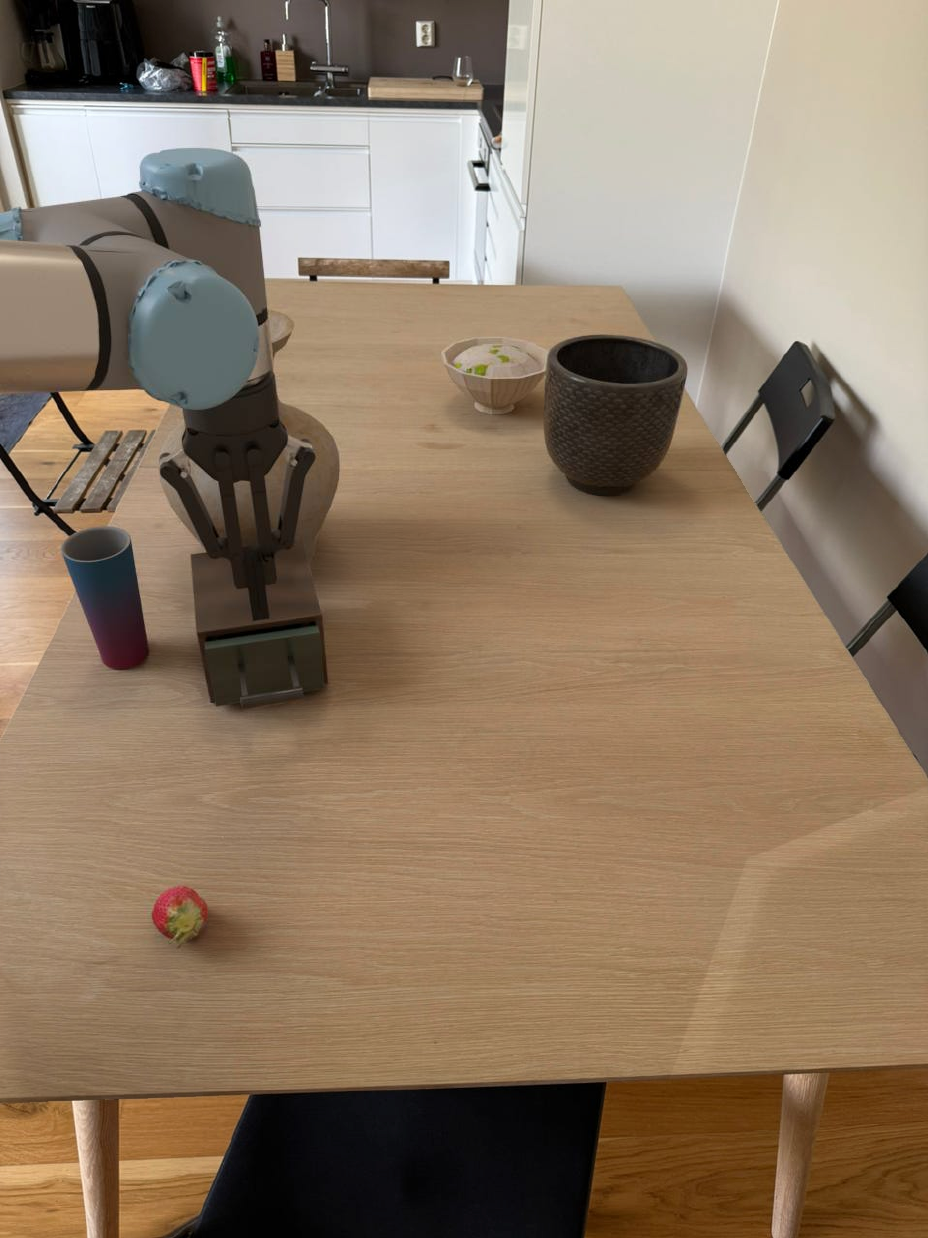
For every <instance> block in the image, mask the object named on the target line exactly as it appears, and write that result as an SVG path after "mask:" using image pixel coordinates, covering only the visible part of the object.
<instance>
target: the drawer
mask: <svg viewBox="0 0 928 1238" xmlns="http://www.w3.org/2000/svg"><path fill="white" fill-rule="evenodd" d="M204 644H205V652H206V657H207V662H208V667H209V673H210V678H211V683H212V688H213V693H214V698H215V702H214V704H215V707H220V706H225V705H226V706H228V705H234V704H239V703H240V706H241V710H242V711H246V710H247V711H248V710H253V709H259V708H265V707H266V708H267V707H272V706H278V705H283V704H289V703H296V702H301V701H304V700H305V696H304V693H306V692H312V691H318V690H324V689H325V688H326V687H325V684H324V675H323V664H322V653H321V642H320V632H319V628H318V626H310V622H307V623H301V624H294V625H287V626H280V627H273V628H267V629H260V630H253V631H246V632H239V633H233V634H226V635H219V636H212V641H209V642H205V643H204Z"/></svg>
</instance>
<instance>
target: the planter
mask: <svg viewBox="0 0 928 1238" xmlns="http://www.w3.org/2000/svg"><path fill="white" fill-rule="evenodd" d="M548 352H549V353H548V357H547V364H546V375H545V377H544V378H545V379H544V393H543V394H544V395H543V398H544V399H543V438H544V443H545V446H546V450H547V453H548V455H549V457H550V459H551V461H552V464H554V465H555V467H556V468H557V469H558V470H559V471H560V472H561V473H562V474H564V477H565V478H566V480H567V482H568V483H569V484H570V485H571V486H572V487H574V488H575V489H577V490H579V491H581V492H583V493H586V494H590V495H595V496H604V497H610V496H611V497H612V496H619V495H622V494H623V495H624V494H626V493H628V492H630V491H631V490H633V489H634V488H635V487H636V486H637V485H638V483H640V482H643V481H644V480H646V479H647V478H648V477H650V476H651V475H653V473H654V472H655V471H657V470H658V468H659V467H660V466H661V464H662V463H663V461H664V460H665V458H666V456H667V454H668V452H669V449H670V448H671V444H672V442H673V438H674V433H675V429H676V425H677V422H678V417H679V414H680V413H679V412H680V411H681V406H682V401H683V396H684V391H685V386H686V382H687V377H688V363H687V361H686V360H685V358H684V356H682V355H681V354H680V353H679V352H677V351H676V350H674V349H672V348H670V347H669V346H666V345H664V344H662V343H660V342H656V341H653V340H649V339H645V338H642V337H636V336H631V335H623V334H622V335H621V334H605V333H603V334H601V333H600V334H589V335H587V334H586V335H579V336H575V337H571V338H567V339H564V340H562V341H559V342H558V343H556V344H555V345H553V346H552V347H551V348H550V350H549V351H548Z"/></svg>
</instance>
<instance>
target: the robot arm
mask: <svg viewBox="0 0 928 1238" xmlns="http://www.w3.org/2000/svg"><path fill="white" fill-rule="evenodd" d="M252 176H253V175H252V172H251V169H250V166H249V165H248V163H247V161H245V160H244V159H243V158H242V157H241V156H239V154H235V153H233V152H231V151H227V150H224V149H217V148H207V147H180V148H179V147H178V148H169V149H163V150H160V151H159V152H151V153H149V154H146V155H145V156H144V157H143V158H142V159H141V161H140V164H139V179H140V180H139V181H138V184H139V189H141V190H139V191H134V192H129V193H128V194H127V193H126V194H125V195H119V196H112V197H105V198H96V199H89V200H83V201H75V202H67V203H59V204H53V205H52V204H51V205H46V206H45V205H44V206H36V207H29V208H22V207H21V206H16V207H14V208H12V210H8V211H4V212H0V396H1V395H2V396H3V395H23V394H24V395H25V394H45V393H46V394H47V393H63V392H64V393H68V392H69V393H70V392H71V393H72V392H93V391H94V392H96V391H133V390H135V391H136V390H141V391H144V392H145V394H147V395H148V396H149V397H151V398H152V399H154V400H156V401H159V402H164V403H167V404H170V405H172V406H175V407H177V408H180V409H181V410H182V414H183V415H182V416H183V421H184V422H185V431H184V433H183V436H182V446H180V447H179V448H178V449H176V450H175V451H174V452H172V453H171V454H170V453H163V454H161V455H160V458H159V457H158V464H159V463H160V475H161V476H162V478H163V479H165V480H166V481H167V482H168V483H169V484H170V485H171V486H172V487H173V488H174V489H175V490H176V491H177V493H178V495H179V497H180V499H181V501H182V503H183V505H184V507H185V509H186V511H187V513H188V515H189V517H190V519H191V521H192V523H193V525H194V527H195V529H196V531H197V533H198V535H199V538H200V540H201V542H202V544H203V546H204V548H205V550H206V552H207V554H208V556H209V557H210V558H212V559H218V558H220V557H222V558H226V559H228V560H229V561H230V562H231V567H232V573H233V580H234V585H235V587H236V588H237V589H243V588H248V592H249V599H250V605H251V612H252V618H253V621H256V620H263V619H270V618H269V610H268V603H267V595H266V588H265V585H271V584H276V581H277V575H276V566H275V554H276V553H277V552H278V551H279V550H282V549H284V550H289V549H291V548H292V547H293V544H294V539H295V533H296V527H297V521H298V515H299V510H300V504H301V498H302V492H303V486H304V481H305V476H306V474H307V473H308V471H309V469H310V468H311V466H312V464H313V463H314V461H315V459H316V457H315V453H314V450H313V447H312V444H311V442H310V440H308V439H301V440H298V439H295V438H293V437H291V436H289V435H288V434H287V431H286V428H285V426H284V425H283V424H282V422H281V420H280V417H279V407H278V398H279V397H278V398H277V395H278V391H277V381H276V380H277V379H276V375H275V372H274V370H273V371H272V370H270V369H271V368H272V367H273V368H274V364H275V362H274V361H275V359H274V360H273V351H272V342H271V332H270V323H269V314H268V311H267V309H268V303H267V302H268V300H267V291H266V290H267V289H266V281H265V279H266V278H265V269H264V268H265V267H264V260H263V250H262V249H263V248H262V240H261V239H262V237H261V230H260V229H261V227H262V221H261V218H260V214H259V209H258V208H259V207H258V202H257V197H256V190H255V187H254V182H253V177H252ZM283 450H285V458H286V461H287V463H288V464H287V469H286V475H285V482H284V488H283V494H282V500H281V507H280V513H279V519H278V526H277V530H276V531H273V532H271V525H270V518H269V510H268V502H267V494H266V485H265V477H264V476H265V475H267V474H268V473H269V471H270V470H271V468H272V467H273V465H274V464H275V462H276V460H277V459H278V457H279V456H280V454H281V453H282V451H283ZM190 459H191V460H192V461H193V462H195V463H196V464H197V465H198V466H199V467H200V468H201V469H202V470H203V471H204V472H206V473H207V474H208V475H209V476H210V477H211V478H212V479H214V480H216V481H218V484H219V490H220V497H221V503H222V509H223V516H224V522H225V529H226V535H227V538H222V537H220V536H219V534H218V532H217V530H216V528H215V526H214V523H213V521H212V519H211V517H210V515H209V513H208V511H207V509H206V507H205V504H204V502H203V500H202V498H201V496H200V494H199V492H198V490H197V487H196V485H195V483H194V481H193V479H192V477H191V475H190V474H191V465H190V463H189V460H190ZM239 481H249V482H250V489H251V496H252V503H253V510H254V517H255V524H256V531H257V538H258V545H255V546H251V548H250V546H247V547H242V540H241V533H240V526H239V519H238V512H237V505H236V498H235V490H234V483H236V482H239ZM204 548H203V549H204ZM205 550H204V551H205ZM251 553H252V554H251ZM260 614H261V615H260Z"/></svg>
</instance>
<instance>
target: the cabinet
mask: <svg viewBox="0 0 928 1238" xmlns="http://www.w3.org/2000/svg"><path fill="white" fill-rule="evenodd" d="M250 548H251V547H250ZM251 554H252V553H251ZM275 566H276V575H277V581H276V584H271V585H265V588H266V595H267V603H268V610H269V618H270V619H263V620H256V621H253V618H252V612H251V605H250V599H249V592H248V588H243V589H237V588H236V587H235V585H234V580H233V573H232V567H231V562H230V561H229V560H228V559H226V558H222V557H220V558H218V559H212V558H210V557H209V556H208V554H207V552H205V551H204V552H199V553H191V554H190V567H191V580H192V592H193V593H192V594H193V605H194V617H195V631H196V637H197V642H198V647H199V652H200V657H201V662H202V667H203V672H204V677H205V682H206V687H207V692H208V697H209V702H210V703H215V698H214V693H213V688H212V683H211V678H210V673H209V667H208V662H207V657H206V652H205V644H204V643H205V642H209V641H212V636H219V635H226V634H233V633H239V632H246V631H253V630H260V629H267V628H273V627H280V626H287V625H294V624H301V623H307V622H310V626H318V628H319V632H320V642H321V653H322V664H323V675H324V685H328V684H329V675H328V665H327V654H326V642H325V628H324V620H323V619H324V618H323V617H324V616H323V612H322V608H321V604H320V600H319V597H318V593H317V589H316V586H315V581H314V578H313V574H312V570H311V566H310V561H309V562H308V558H307V554H306V550H305V546H304V543H303V540H301V541H294V544H293V547H292V548H291V549H289V550H284V549H282V550H279V551H278V552H277V553H276V554H275ZM260 615H261V614H260Z"/></svg>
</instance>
